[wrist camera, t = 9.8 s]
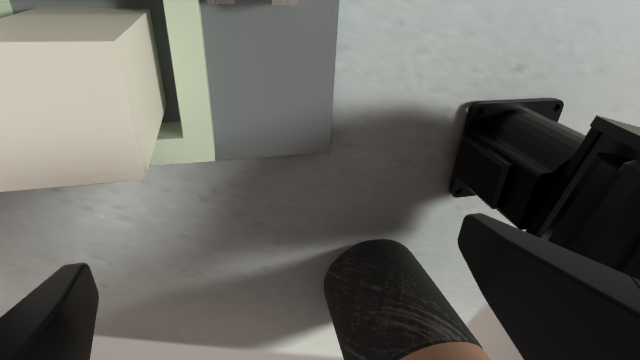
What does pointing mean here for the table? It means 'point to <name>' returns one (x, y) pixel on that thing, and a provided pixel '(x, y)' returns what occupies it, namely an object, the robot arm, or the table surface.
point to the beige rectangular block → (78, 97)
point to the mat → (252, 71)
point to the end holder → (181, 88)
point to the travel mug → (393, 308)
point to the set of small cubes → (272, 0)
